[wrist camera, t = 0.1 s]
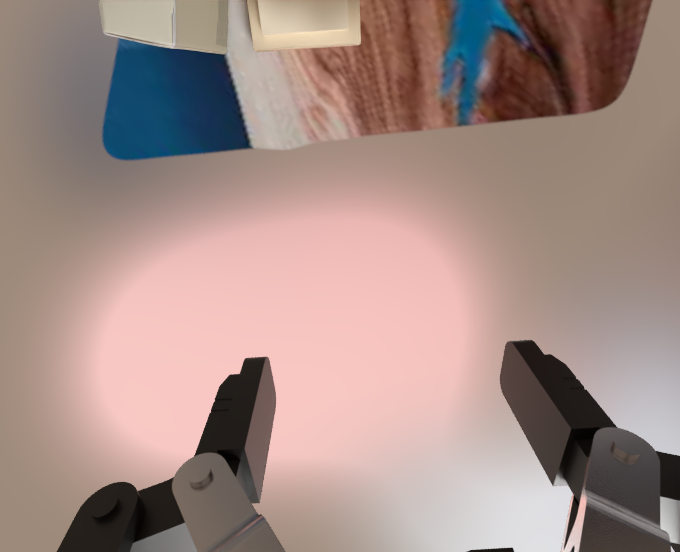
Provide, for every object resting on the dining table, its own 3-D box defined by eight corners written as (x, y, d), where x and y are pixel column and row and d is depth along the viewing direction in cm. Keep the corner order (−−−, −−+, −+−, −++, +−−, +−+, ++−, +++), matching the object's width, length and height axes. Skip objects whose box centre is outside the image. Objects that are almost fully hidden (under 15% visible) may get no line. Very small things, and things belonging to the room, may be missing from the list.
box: (176, -24, 31) (86, -84, 20) (231, -13, 31) (172, -65, 20) (178, 50, 33) (98, 34, 22) (228, 59, 34) (176, 49, 22)
